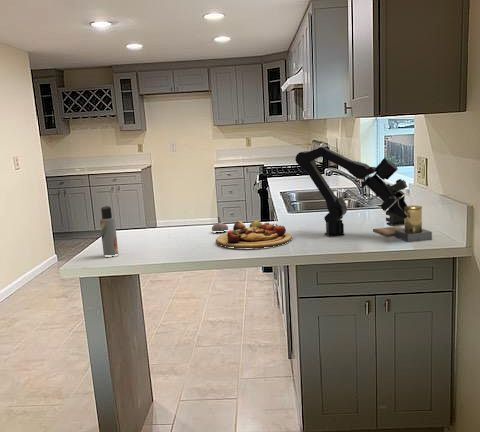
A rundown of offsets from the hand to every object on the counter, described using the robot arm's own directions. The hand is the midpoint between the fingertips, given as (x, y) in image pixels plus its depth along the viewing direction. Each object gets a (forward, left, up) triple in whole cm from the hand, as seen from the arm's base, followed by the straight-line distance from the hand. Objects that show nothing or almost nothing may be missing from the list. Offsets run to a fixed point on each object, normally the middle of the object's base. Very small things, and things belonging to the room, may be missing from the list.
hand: (408, 215), depth 193 cm
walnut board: (-1, +12, -9) cm, 15 cm away
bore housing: (+1, -1, -9) cm, 9 cm away
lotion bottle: (-117, +23, -9) cm, 119 cm away
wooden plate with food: (-58, +23, -10) cm, 63 cm away
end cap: (+10, +27, -9) cm, 30 cm away
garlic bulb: (-69, +48, -9) cm, 84 cm away
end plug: (+1, -1, -9) cm, 9 cm away
